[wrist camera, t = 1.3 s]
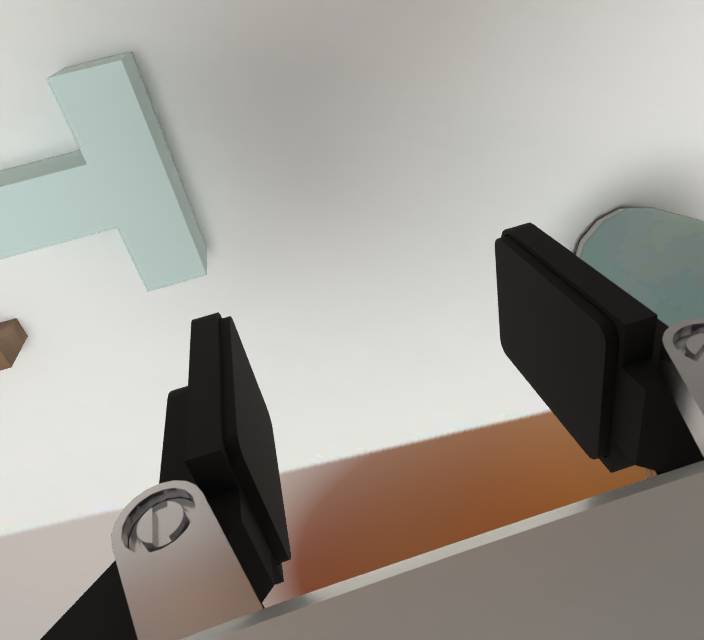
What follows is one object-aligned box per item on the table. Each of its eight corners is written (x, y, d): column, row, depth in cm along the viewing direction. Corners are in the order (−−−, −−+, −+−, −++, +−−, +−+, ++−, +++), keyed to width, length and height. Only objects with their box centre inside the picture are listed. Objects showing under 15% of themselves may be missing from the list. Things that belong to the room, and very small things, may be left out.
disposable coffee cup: (547, 192, 33) (753, 317, 21) (706, 153, 34) (993, 248, 22) (542, 334, 39) (700, 498, 26) (678, 296, 40) (892, 437, 27)
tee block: (-95, 106, 24) (-136, 123, 21) (131, 51, 25) (121, 59, 22) (25, 297, 29) (5, 331, 26) (206, 247, 30) (206, 274, 27)
